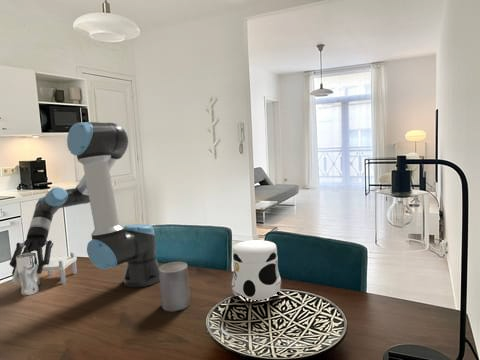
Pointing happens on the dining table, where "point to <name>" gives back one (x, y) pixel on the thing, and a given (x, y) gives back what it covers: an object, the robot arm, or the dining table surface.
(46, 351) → the dining table surface
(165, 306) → the pillar candle
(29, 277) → the silver metal goblet
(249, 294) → the milk container
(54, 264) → the shelf stand
